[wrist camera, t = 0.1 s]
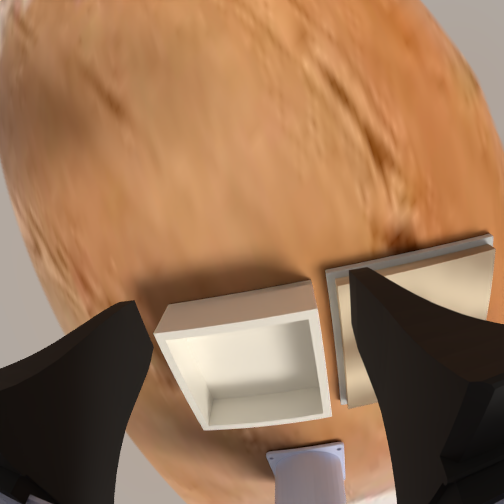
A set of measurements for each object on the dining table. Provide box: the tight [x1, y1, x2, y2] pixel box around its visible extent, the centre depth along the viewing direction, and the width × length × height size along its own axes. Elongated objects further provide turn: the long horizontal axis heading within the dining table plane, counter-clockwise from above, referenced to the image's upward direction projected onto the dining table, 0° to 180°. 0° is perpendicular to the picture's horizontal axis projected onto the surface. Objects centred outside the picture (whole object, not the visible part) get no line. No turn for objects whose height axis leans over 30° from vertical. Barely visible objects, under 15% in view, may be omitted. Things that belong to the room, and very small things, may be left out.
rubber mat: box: [325, 234, 493, 405], centre depth 22 cm, size 13×13×1 cm
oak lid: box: [335, 244, 495, 409], centre depth 19 cm, size 12×12×5 cm
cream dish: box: [153, 280, 332, 430], centre depth 22 cm, size 10×10×4 cm
